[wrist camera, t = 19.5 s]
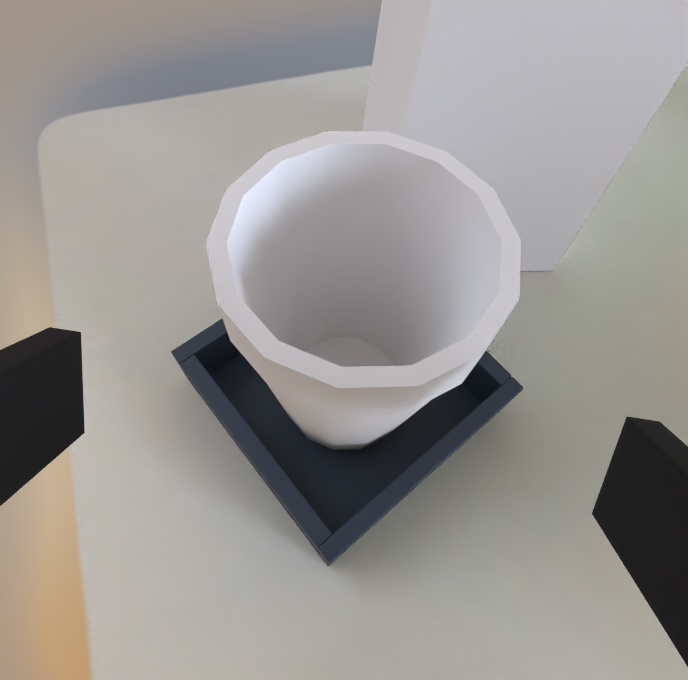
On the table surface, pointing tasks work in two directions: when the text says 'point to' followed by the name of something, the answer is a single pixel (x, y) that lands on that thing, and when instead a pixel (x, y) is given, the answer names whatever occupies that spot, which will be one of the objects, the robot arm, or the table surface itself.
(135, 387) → the table surface
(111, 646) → the table surface
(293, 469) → the tray
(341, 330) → the foam cup
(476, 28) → the milk
